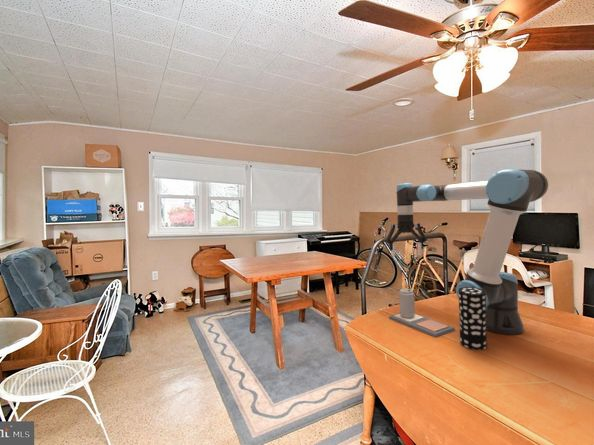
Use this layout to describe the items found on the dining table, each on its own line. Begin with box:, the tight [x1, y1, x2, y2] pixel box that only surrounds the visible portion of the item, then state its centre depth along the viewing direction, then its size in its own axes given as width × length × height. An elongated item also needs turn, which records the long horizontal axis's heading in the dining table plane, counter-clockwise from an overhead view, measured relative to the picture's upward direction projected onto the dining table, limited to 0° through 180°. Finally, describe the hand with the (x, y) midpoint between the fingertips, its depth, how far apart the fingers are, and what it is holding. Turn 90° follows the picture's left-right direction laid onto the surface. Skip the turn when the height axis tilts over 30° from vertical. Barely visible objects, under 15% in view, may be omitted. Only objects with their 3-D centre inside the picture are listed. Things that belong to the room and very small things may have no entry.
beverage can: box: [398, 288, 416, 318], centre depth 130 cm, size 6×6×12 cm
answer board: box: [388, 312, 456, 338], centre depth 125 cm, size 24×12×2 cm, turn 28°
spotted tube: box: [458, 287, 488, 351], centre depth 103 cm, size 8×8×20 cm
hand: (406, 256), depth 144 cm, fingers open, 13 cm apart
